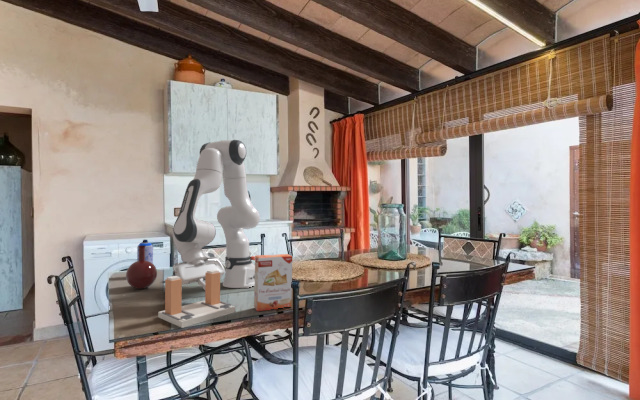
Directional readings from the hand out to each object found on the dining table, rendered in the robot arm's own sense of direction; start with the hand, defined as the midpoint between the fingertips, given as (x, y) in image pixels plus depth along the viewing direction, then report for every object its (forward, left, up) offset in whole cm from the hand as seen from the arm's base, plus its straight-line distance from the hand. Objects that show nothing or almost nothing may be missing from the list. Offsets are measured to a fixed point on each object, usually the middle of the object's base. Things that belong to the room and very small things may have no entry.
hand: (208, 288), depth 145 cm
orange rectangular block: (+16, +2, -5) cm, 17 cm away
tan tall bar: (0, +3, -5) cm, 6 cm away
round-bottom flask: (+4, -48, -8) cm, 49 cm away
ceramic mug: (-18, -51, -8) cm, 54 cm away
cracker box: (-16, +20, -8) cm, 27 cm away
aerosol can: (-8, -70, -8) cm, 71 cm away
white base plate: (+8, +5, -7) cm, 12 cm away
